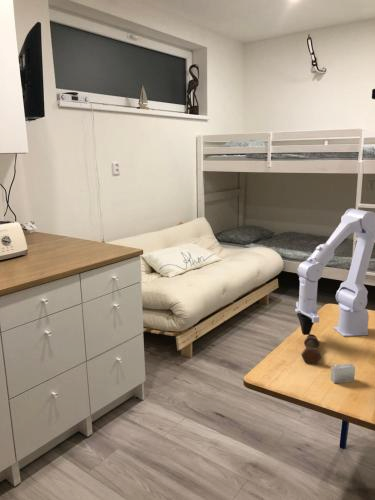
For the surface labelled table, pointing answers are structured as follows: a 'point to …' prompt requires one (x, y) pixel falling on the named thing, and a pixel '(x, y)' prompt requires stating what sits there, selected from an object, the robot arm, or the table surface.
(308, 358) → the bolt
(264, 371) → the table surface
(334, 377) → the block
